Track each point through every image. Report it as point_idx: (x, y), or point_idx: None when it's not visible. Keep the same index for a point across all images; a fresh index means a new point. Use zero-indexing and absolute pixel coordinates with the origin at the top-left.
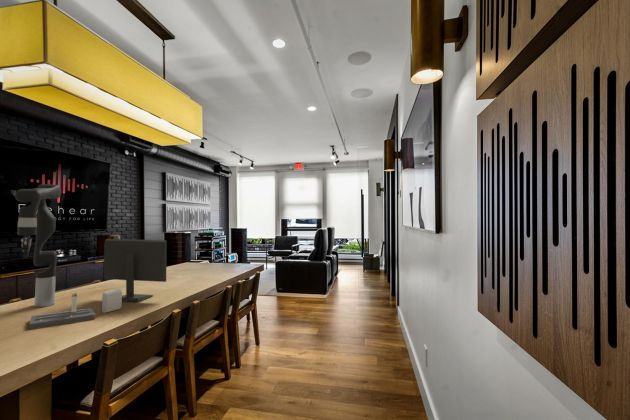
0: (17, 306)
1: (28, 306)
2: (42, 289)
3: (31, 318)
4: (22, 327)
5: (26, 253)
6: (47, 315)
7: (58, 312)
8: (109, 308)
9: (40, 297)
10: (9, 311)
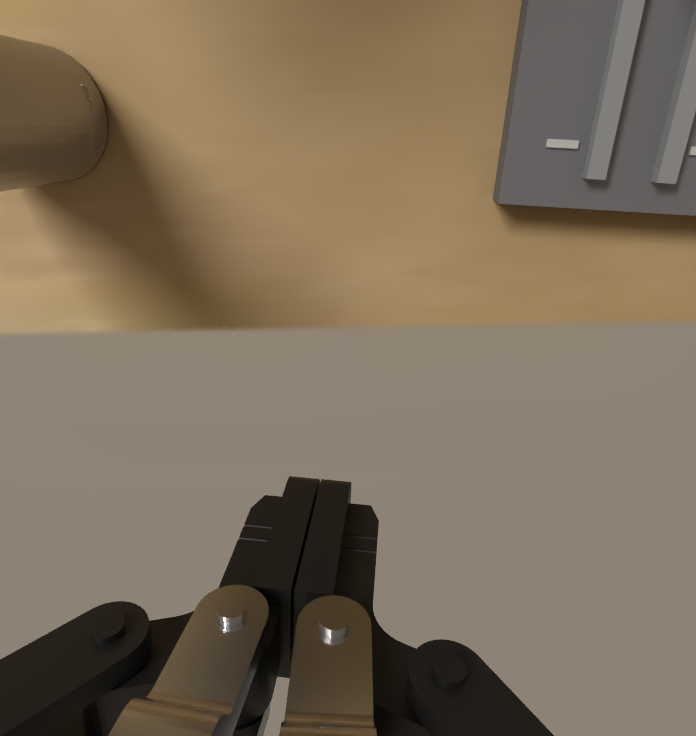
0: (13, 275)
1: (44, 215)
2: (18, 138)
3: (584, 205)
4: (636, 246)
5: (372, 589)
6: (618, 105)
7: (540, 21)
8: None
9: (62, 149)
10: (140, 313)
